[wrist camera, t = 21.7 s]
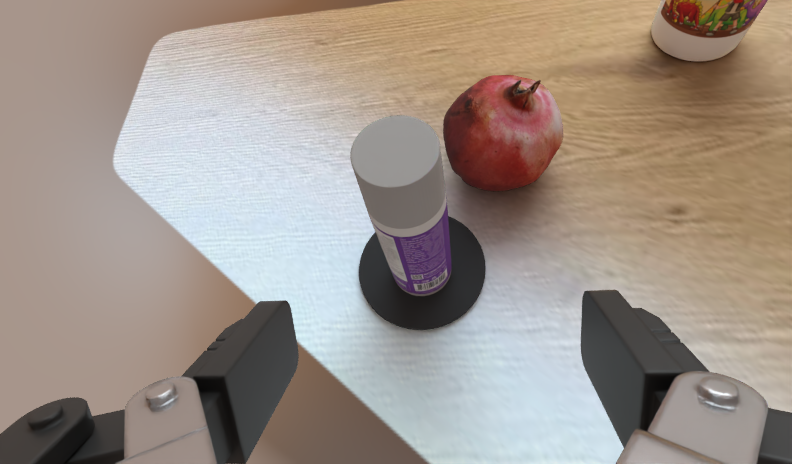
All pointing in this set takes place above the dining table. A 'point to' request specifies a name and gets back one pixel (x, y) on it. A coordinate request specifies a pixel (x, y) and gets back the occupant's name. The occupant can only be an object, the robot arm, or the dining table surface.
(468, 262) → the coaster
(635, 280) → the dining table surface
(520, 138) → the fruit
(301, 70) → the dining table surface
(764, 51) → the dining table surface
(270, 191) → the dining table surface
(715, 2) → the milk bottle
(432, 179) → the container
